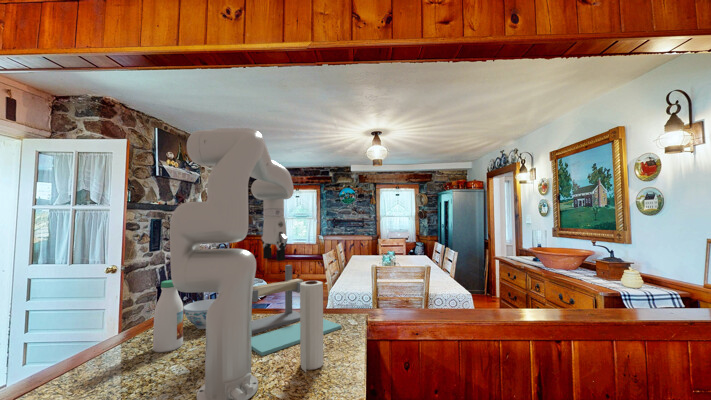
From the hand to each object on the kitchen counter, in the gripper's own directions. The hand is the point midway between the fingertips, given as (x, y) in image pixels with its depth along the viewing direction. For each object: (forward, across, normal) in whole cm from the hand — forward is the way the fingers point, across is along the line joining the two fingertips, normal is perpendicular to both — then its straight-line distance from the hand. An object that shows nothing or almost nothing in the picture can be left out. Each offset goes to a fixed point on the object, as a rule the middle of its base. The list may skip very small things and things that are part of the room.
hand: (273, 259), depth 114 cm
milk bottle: (+23, +4, +34) cm, 41 cm away
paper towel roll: (+23, -37, +10) cm, 45 cm away
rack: (+24, 0, 0) cm, 24 cm away
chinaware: (+24, +16, +18) cm, 34 cm away
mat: (+23, -16, +2) cm, 28 cm away
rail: (+12, 0, 0) cm, 12 cm away
